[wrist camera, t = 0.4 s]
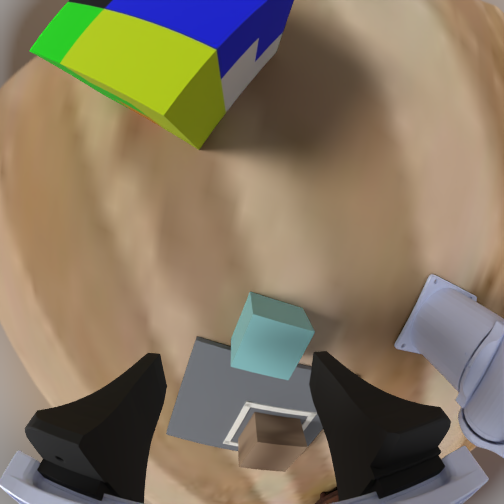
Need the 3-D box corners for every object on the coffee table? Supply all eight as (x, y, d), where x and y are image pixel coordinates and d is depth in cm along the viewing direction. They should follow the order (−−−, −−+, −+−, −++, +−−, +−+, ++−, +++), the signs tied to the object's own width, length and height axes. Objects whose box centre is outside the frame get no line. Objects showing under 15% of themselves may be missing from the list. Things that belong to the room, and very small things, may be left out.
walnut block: (300, 418, 24) (307, 447, 20) (280, 444, 25) (284, 471, 21) (254, 411, 23) (257, 441, 19) (238, 438, 24) (239, 466, 20)
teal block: (302, 307, 22) (315, 331, 18) (280, 351, 23) (288, 380, 19) (250, 291, 21) (253, 314, 17) (231, 338, 22) (230, 366, 18)
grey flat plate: (357, 375, 24) (359, 379, 23) (296, 454, 26) (297, 458, 26) (196, 336, 22) (195, 341, 21) (167, 430, 24) (165, 435, 24)
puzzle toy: (276, 52, 17) (303, -28, 7) (199, 150, 18) (163, 115, 9) (176, 6, 15) (151, -68, 5) (102, 94, 17) (29, 51, 7)
